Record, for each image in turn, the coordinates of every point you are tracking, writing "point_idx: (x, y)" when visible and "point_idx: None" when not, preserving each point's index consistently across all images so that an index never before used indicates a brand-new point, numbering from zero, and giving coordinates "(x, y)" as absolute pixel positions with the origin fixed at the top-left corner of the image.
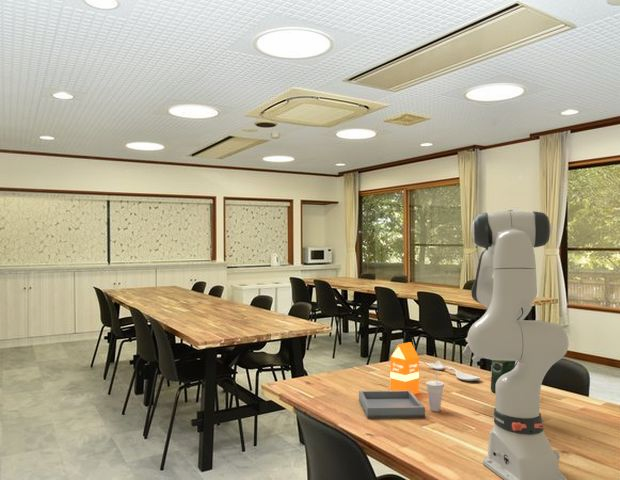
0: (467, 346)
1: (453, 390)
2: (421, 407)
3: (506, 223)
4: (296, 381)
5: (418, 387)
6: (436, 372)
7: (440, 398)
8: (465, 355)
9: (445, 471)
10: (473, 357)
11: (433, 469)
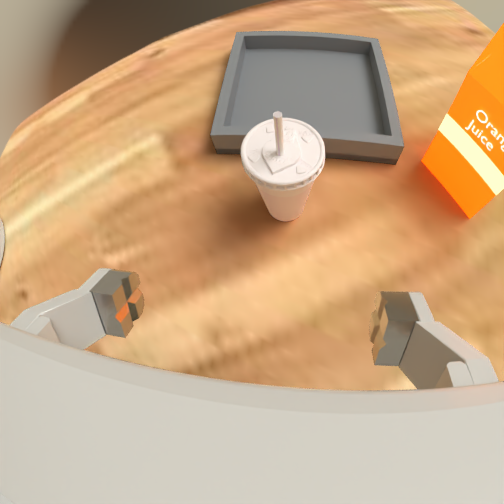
0: (450, 357)
1: (492, 358)
2: (212, 127)
3: None
4: (473, 22)
5: (477, 210)
6: (274, 118)
7: (261, 195)
8: (371, 317)
9: (11, 143)
10: (106, 275)
11: (21, 130)
